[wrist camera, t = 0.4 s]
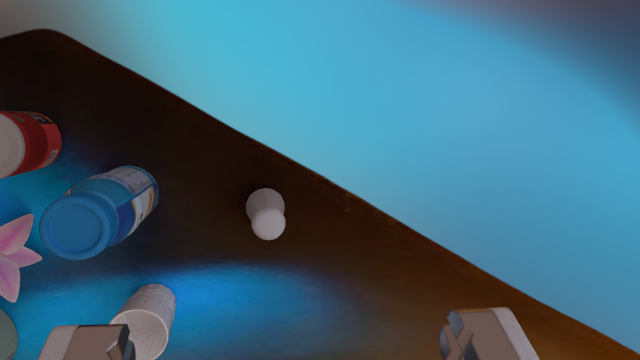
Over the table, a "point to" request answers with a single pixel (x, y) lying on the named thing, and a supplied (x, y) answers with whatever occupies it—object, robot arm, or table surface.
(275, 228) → the salt shaker
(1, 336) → the storage jar
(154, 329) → the white cup
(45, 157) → the canned food
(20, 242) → the lily
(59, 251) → the beverage bottle
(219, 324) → the table surface
